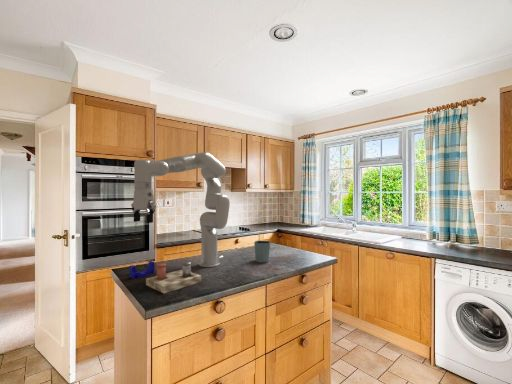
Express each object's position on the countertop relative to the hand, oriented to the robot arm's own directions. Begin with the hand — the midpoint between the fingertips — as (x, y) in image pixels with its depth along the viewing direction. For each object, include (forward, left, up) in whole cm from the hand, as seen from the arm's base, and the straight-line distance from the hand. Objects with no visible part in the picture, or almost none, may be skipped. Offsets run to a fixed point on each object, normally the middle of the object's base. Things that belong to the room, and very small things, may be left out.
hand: (143, 222), depth 129 cm
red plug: (-5, +7, -26) cm, 28 cm away
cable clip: (-6, -13, -30) cm, 33 cm away
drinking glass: (-70, +15, -30) cm, 78 cm away
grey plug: (-15, +13, -26) cm, 33 cm away
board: (-10, +10, -30) cm, 33 cm away
